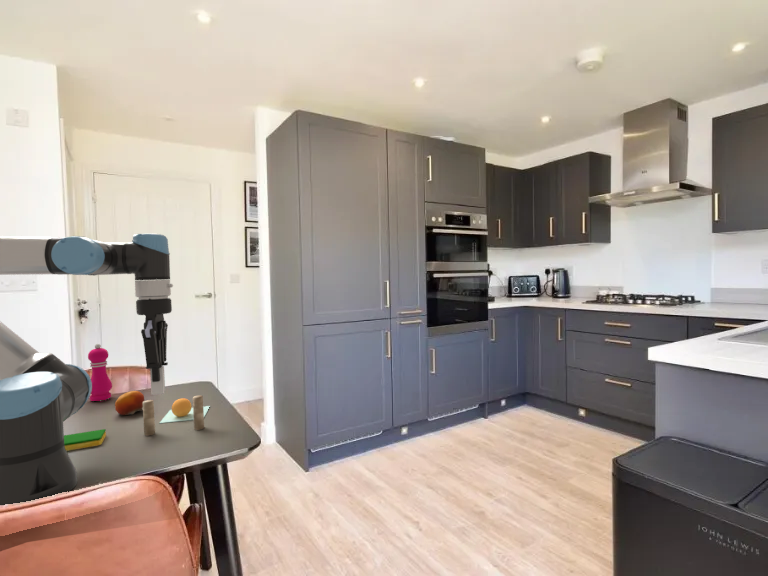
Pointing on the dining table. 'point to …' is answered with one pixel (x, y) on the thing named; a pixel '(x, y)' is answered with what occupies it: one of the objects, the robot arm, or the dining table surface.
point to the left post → (148, 417)
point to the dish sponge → (84, 439)
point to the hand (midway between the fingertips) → (158, 393)
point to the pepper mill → (99, 374)
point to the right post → (198, 412)
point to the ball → (181, 407)
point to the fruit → (129, 403)
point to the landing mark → (172, 418)
